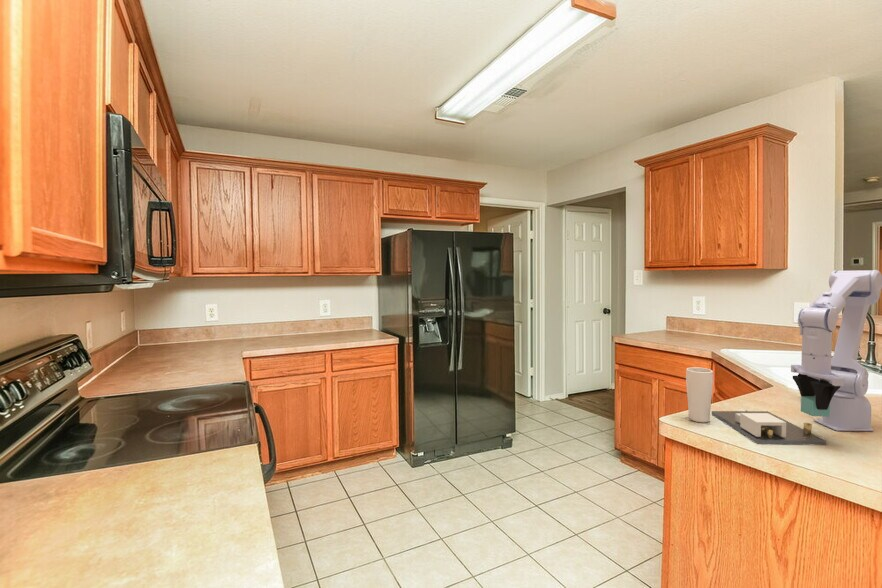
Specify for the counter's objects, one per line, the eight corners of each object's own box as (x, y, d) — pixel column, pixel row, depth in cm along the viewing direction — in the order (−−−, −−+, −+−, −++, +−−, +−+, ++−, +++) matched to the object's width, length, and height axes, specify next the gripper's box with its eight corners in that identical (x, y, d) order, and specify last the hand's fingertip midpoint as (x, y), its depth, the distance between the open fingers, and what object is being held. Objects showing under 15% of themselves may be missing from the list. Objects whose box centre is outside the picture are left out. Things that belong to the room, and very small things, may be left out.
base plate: (767, 414, 128) (767, 403, 128) (826, 444, 106) (826, 431, 106) (711, 414, 130) (711, 403, 129) (757, 443, 108) (758, 430, 108)
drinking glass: (716, 424, 121) (717, 372, 120) (690, 423, 123) (691, 372, 122) (707, 416, 128) (707, 367, 127) (682, 415, 129) (682, 366, 128)
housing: (755, 420, 120) (756, 407, 120) (785, 437, 108) (786, 422, 108) (729, 420, 121) (729, 407, 121) (756, 436, 109) (756, 422, 109)
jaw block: (817, 411, 112) (817, 396, 111) (829, 416, 108) (830, 400, 107) (800, 411, 112) (801, 396, 112) (812, 416, 108) (813, 400, 108)
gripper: (779, 348, 116) (778, 397, 117) (822, 360, 102) (820, 415, 103) (807, 348, 116) (805, 397, 117) (854, 360, 101) (852, 415, 102)
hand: (814, 406), depth 110 cm, fingers closed on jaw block, 4 cm apart
